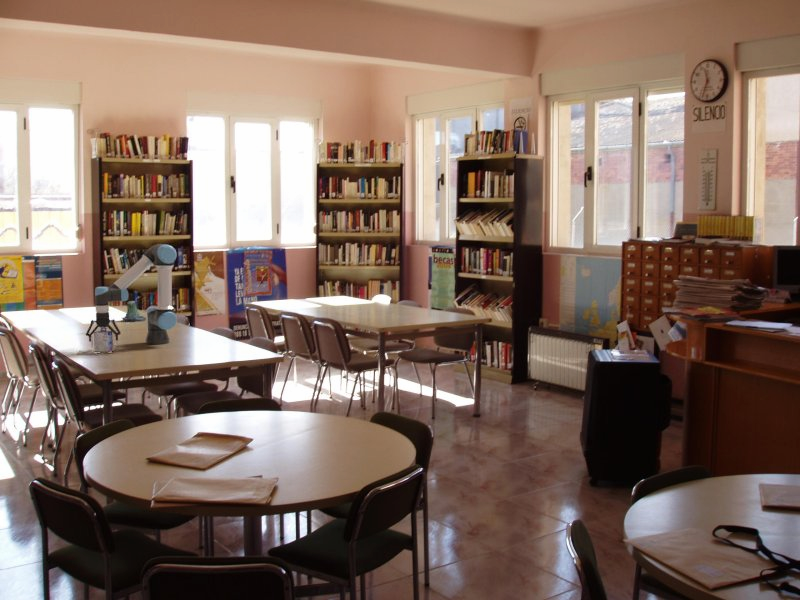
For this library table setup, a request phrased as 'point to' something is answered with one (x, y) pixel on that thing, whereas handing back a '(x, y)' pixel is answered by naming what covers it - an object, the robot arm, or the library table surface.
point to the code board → (88, 352)
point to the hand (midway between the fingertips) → (103, 346)
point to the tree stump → (133, 313)
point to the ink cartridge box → (103, 341)
